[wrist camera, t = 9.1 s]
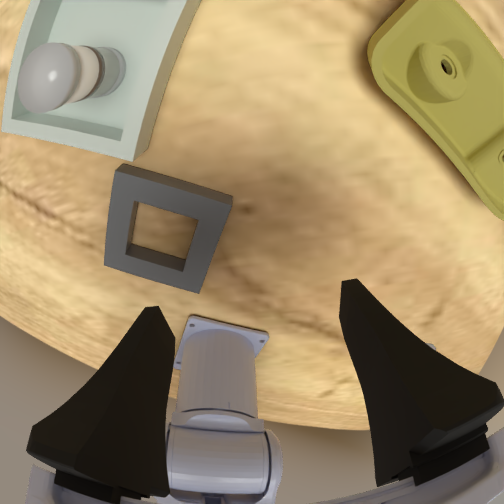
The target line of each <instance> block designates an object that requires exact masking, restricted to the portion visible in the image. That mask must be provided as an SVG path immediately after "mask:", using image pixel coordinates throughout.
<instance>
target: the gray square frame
mask: <svg viewBox="0 0 504 504" xmlns="http://www.w3.org/2000/svg"><path fill="white" fill-rule="evenodd" d="M232 199H233V196H230V195H227V194H224V193H221V192H218V191H214V190H211V189H208V188H205V187H202V186H199V185H195V184H192V183H189V182H186V181H182V180H179V179H176V178H172V177H169V176H165V175H162V174H159V173H155V172H152V171H148V170H145V169H141V168H137V167H134V166H130V165H127V164H122V165H121V166H120V167H119V168H118V169H116V170H115V174H114V180H113V186H112V192H111V199H110V206H109V214H108V223H107V232H106V243H105V256H104V265H105V266H108V267H111V268H114V269H117V270H120V271H123V272H126V273H130V274H133V275H136V276H139V277H143V278H146V279H149V280H153V281H156V282H159V283H163V284H166V285H170V286H173V287H177V288H180V289H184V290H187V291H191V292H194V293H198V294H199V292H200V290H201V287H202V284H203V281H204V279H205V276H206V273H207V270H208V268H209V265H210V262H211V260H212V257H213V254H214V252H215V249H216V246H217V244H218V241H219V238H220V236H221V233H222V231H223V228H224V225H225V223H226V220H227V218H228V215H229V212H230V210H231V207H232ZM138 202H141V203H144V204H147V205H151V206H154V207H157V208H161V209H164V210H167V211H171V212H174V213H177V214H181V215H184V216H187V217H191V218H194V219H197V220H198V223H197V226H196V229H195V232H194V235H193V238H192V242H191V245H190V248H189V251H188V255H187V258H186V260H184V259H180V258H177V257H174V256H170V255H167V254H163V253H160V252H157V251H154V250H150V249H147V248H144V247H140V246H137V245H134V244H131V241H132V235H133V229H134V223H135V217H136V212H137V207H138Z"/></svg>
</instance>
